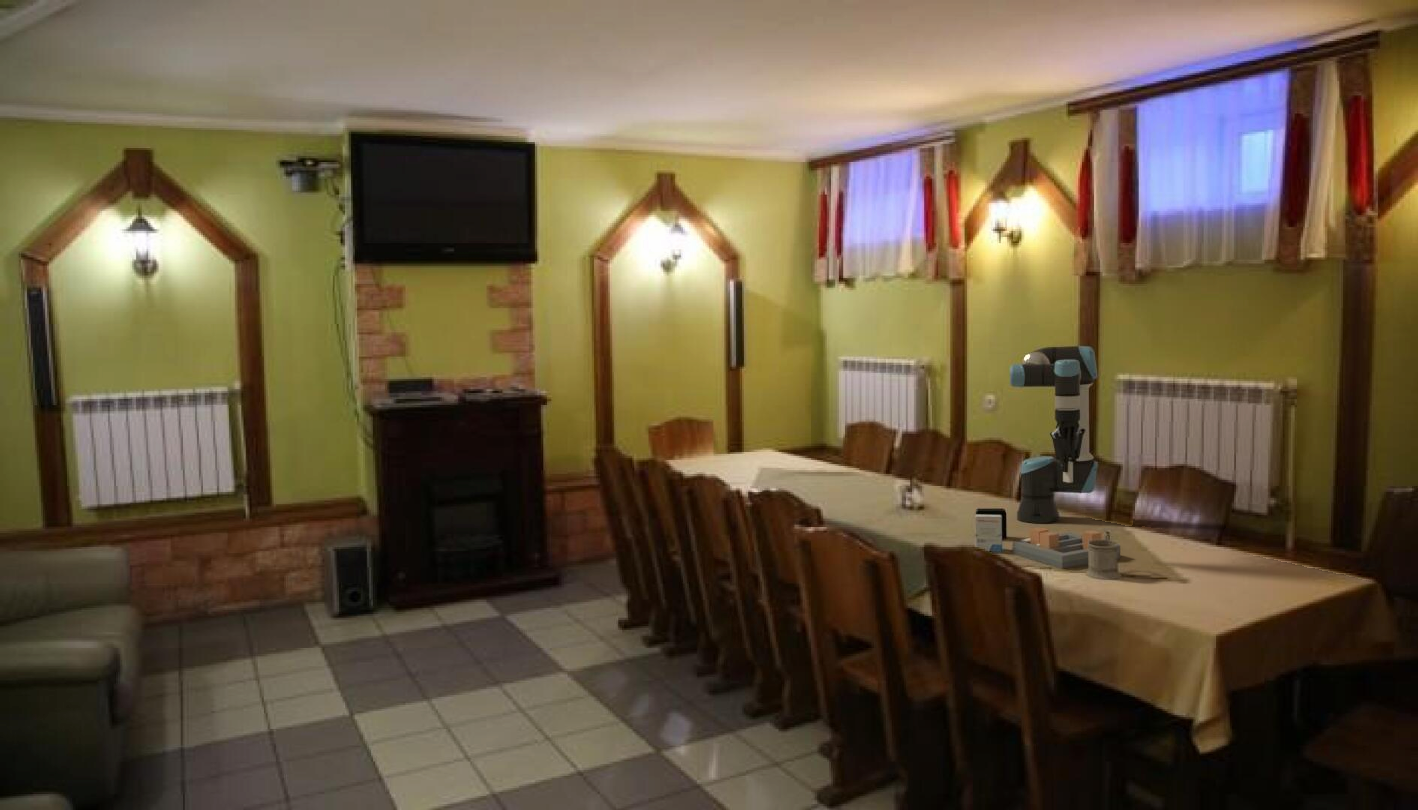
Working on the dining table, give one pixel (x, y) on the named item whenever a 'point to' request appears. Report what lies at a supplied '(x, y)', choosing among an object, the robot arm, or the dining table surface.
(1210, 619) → the dining table surface
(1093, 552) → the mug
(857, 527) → the dining table surface
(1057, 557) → the grey divided tray
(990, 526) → the ink box
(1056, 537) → the tab
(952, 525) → the dining table surface
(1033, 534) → the tab
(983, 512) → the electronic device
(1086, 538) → the orange block
